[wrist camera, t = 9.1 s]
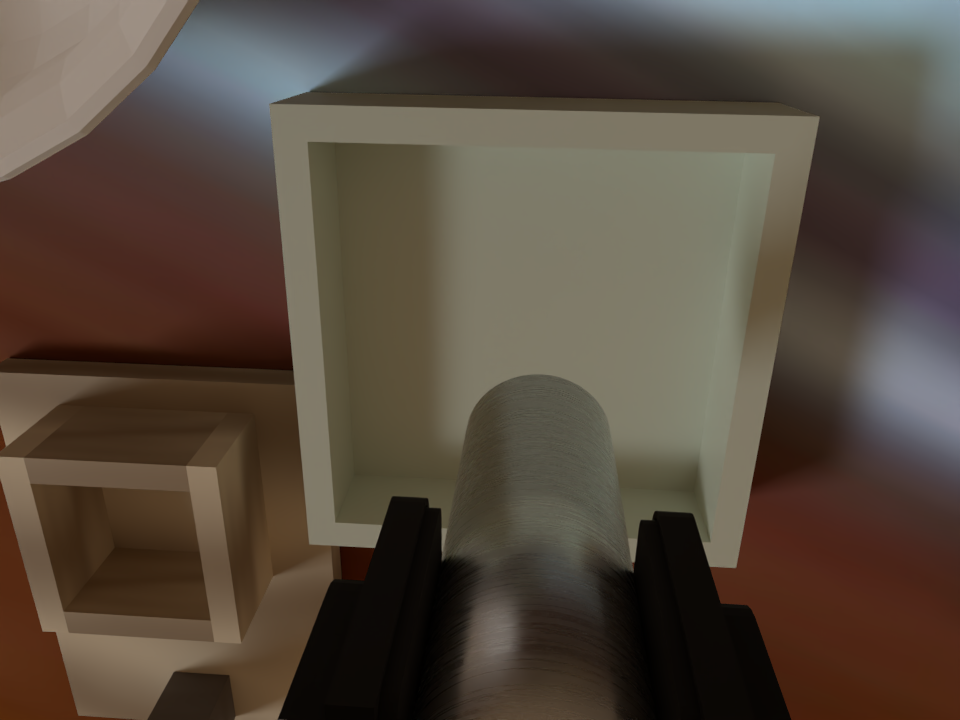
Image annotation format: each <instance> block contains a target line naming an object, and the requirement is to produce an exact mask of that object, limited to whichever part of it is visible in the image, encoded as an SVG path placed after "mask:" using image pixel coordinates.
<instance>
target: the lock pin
mask: <svg viewBox="0 0 960 720" xmlns="http://www.w3.org/2000/svg"><path fill="white" fill-rule="evenodd" d="M412 720H657V717H656V710H655V704H654V698H653V692H652V686H651V679H650V673H649V667H648V661H647V655H646V648H645V642H644V636H643V630H642V624H641V617H640V611H639V605H638V599H637V593H636V587H635V580H634V574H633V567H632V560H631V554H630V548H629V542H628V536H627V530H626V523H625V517H624V511H623V505H622V499H621V493H620V487H619V480H618V474H617V468H616V462H615V456H614V450H613V443H612V437H611V431H610V426H609V422H608V419H607V417H606V415H605V412H604V410H603V409H602V407H601V406H600V404H599V403H598V402H597V400H596V399H595V398H594V397H593V396H592V395H591V394H590V393H589V392H587V391H586V390H585V389H583V388H582V387H580V386H579V385H577V384H575V383H573V382H571V381H569V380H566V379H563V378H561V377H556V376H552V375H543V374H531V375H524V376H519V377H515V378H512V379H509V380H506V381H504V382H502V383H500V384H498V385H497V386H495V387H493V388H492V389H491V390H489V391H488V392H487V393H486V394H485V395H484V396H483V397H482V398H481V399H480V400H479V401H478V403H477V404H476V405H475V407H474V409H473V411H472V412H471V415H470V417H469V420H468V424H467V428H466V434H465V439H464V444H463V449H462V454H461V460H460V465H459V470H458V475H457V480H456V486H455V491H454V496H453V501H452V506H451V512H450V517H449V522H448V527H447V532H446V538H445V543H444V548H443V553H442V563H441V568H440V574H439V579H438V584H437V589H436V594H435V600H434V605H433V610H432V615H431V621H430V626H429V631H428V636H427V642H426V647H425V652H424V657H423V663H422V668H421V673H420V678H419V684H418V689H417V694H416V699H415V705H414V710H413V715H412Z"/></svg>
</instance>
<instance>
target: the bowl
mask: <svg viewBox="0 0 960 720" xmlns="http://www.w3.org/2000/svg"><path fill="white" fill-rule="evenodd" d="M199 1H200V0H0V182H1V181H5V180H8V179H12V178H13V177H15V176H17V175H19V174H20V173H22V172H24V171H26V170H27V169H29V168H31V167H32V166H34V165H36V164H38V163H39V162H41V161H43V160H45V159H46V158H48V157H50V156H52V155H53V154H55V153H57V152H58V151H60V150H62V149H64V148H65V147H67V146H69V145H71V144H72V143H74V142H76V141H78V140H79V139H81V138H83V137H84V136H86V135H88V134H89V133H90V132H91V131H92V130H93V129H94V128H95V127H96V126H97V125H98V124H99V123H100V122H101V121H102V120H103V119H104V118H105V117H106V116H107V115H109V114H110V113H111V112H112V111H113V110H114V109H115V108H116V107H117V106H118V105H119V104H120V103H121V102H122V101H123V100H124V99H125V98H126V97H127V96H128V95H129V94H130V93H131V92H132V91H133V90H134V89H135V88H136V87H137V86H139V85H140V84H141V83H142V82H143V81H144V80H145V79H146V78H147V77H148V76H149V75H150V74H151V73H152V72H153V71H154V70H155V69H156V67H157V66H158V64H159V63H160V61H161V60H162V58H163V57H164V55H165V53H166V52H167V50H168V49H169V47H170V46H171V44H172V43H173V41H174V39H175V38H176V36H177V35H178V33H179V32H180V30H181V29H182V27H183V25H184V24H185V22H186V21H187V19H188V18H189V16H190V15H191V13H192V11H193V10H194V8H195V7H196V5H197V4H198V2H199Z"/></svg>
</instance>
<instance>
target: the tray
mask: <svg viewBox="0 0 960 720" xmlns="http://www.w3.org/2000/svg"><path fill="white" fill-rule="evenodd" d="M269 105H270V116H271V127H272V138H273V150H274V161H275V172H276V183H277V194H278V205H279V216H280V227H281V238H282V249H283V260H284V271H285V282H286V293H287V304H288V315H289V326H290V337H291V348H292V359H293V370H294V381H295V392H296V403H297V414H298V425H299V436H300V448H301V459H302V470H303V481H304V492H305V503H306V514H307V525H308V536H309V544H312V545H330V546H348V547H366V548H375V546H376V543H377V540H378V537H379V534H380V531H381V528H382V525H383V522H384V519H385V515H386V512H387V509H388V506H389V503H390V500H391V498H392V497H393V496H403V497H420V498H428V501H429V507H430V508H441V515H442V552H443V548H444V543H445V538H446V532H447V527H448V522H449V517H450V512H451V506H452V501H453V496H454V491H455V486H456V480H457V475H458V470H459V465H460V460H461V454H462V449H463V444H464V439H465V434H466V428H467V424H468V420H469V417H470V415H471V412H472V411H473V409H474V407H475V405H476V404H477V403H478V401H479V400H480V399H481V398H482V397H483V396H484V395H485V394H486V393H487V392H488V391H489V390H491V389H492V388H493V387H495V386H497V385H498V384H500V383H502V382H504V381H506V380H509V379H512V378H515V377H519V376H524V375H531V374H543V375H552V376H556V377H561V378H563V379H566V380H569V381H571V382H573V383H575V384H577V385H579V386H580V387H582V388H583V389H585V390H586V391H587V392H589V393H590V394H591V395H592V396H593V397H594V398H595V399H596V400H597V402H598V403H599V404H600V406H601V407H602V409H603V410H604V412H605V415H606V417H607V419H608V422H609V426H610V431H611V437H612V443H613V450H614V456H615V462H616V468H617V474H618V480H619V487H620V493H621V499H622V505H623V511H624V517H625V523H626V530H627V536H628V542H629V548H630V554H631V560H632V562H635V555H636V547H637V538H638V530H639V524H640V521H641V520H652V518H653V514H654V512H655V511H668V512H685V513H692V514H693V515H694V518H695V521H696V524H697V527H698V530H699V534H700V537H701V540H702V544H703V547H704V550H705V554H706V557H707V560H708V564H709V566H710V567H728V568H736V565H737V560H738V554H739V549H740V544H741V538H742V533H743V528H744V522H745V517H746V511H747V506H748V501H749V495H750V490H751V484H752V479H753V474H754V468H755V463H756V458H757V452H758V447H759V441H760V436H761V431H762V425H763V420H764V414H765V409H766V404H767V398H768V393H769V388H770V382H771V377H772V371H773V366H774V361H775V355H776V350H777V344H778V339H779V334H780V328H781V323H782V317H783V312H784V307H785V301H786V296H787V291H788V285H789V280H790V274H791V269H792V264H793V258H794V253H795V247H796V242H797V237H798V231H799V226H800V221H801V215H802V210H803V204H804V199H805V194H806V188H807V183H808V177H809V172H810V167H811V161H812V156H813V150H814V145H815V140H816V134H817V129H818V124H819V118H820V117H819V116H816V115H813V114H811V113H808V112H805V111H802V110H799V109H796V108H793V107H790V106H787V105H784V104H781V103H778V102H734V101H689V100H644V99H599V98H555V97H510V96H465V95H420V94H375V93H331V92H305V93H302V94H299V95H296V96H293V97H290V98H286V99H283V100H280V101H277V102H274V103H271V104H269Z"/></svg>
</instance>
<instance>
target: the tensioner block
mask: <svg viewBox="0 0 960 720" xmlns="http://www.w3.org/2000/svg"><path fill="white" fill-rule="evenodd" d="M0 425H1V429H2V432H3V436H4V440H5V444H6V447H5V448H4V449H3V450H2V451H0V479H1V482H2V486H3V489H4V493H5V497H6V500H7V504H8V508H9V511H10V515H11V518H12V522H13V526H14V529H15V533H16V536H17V540H18V544H19V547H20V551H21V555H22V558H23V562H24V565H25V569H26V573H27V576H28V580H29V583H30V587H31V591H32V594H33V598H34V601H35V605H36V609H37V612H38V616H39V620H40V623H41V627H42V630H43V631H47V632H56V634H57V638H58V641H59V645H60V649H61V653H62V656H63V660H64V664H65V667H66V671H67V675H68V679H69V682H70V686H71V690H72V694H73V697H74V701H75V705H76V709H77V712H78V715H80V716H95V717H109V718H124V719H138V720H278V717H279V714H280V712H281V709H282V707H283V704H284V701H285V699H286V696H287V694H288V691H289V688H290V686H291V683H292V681H293V678H294V675H295V673H296V670H297V667H298V665H299V662H300V660H301V657H302V654H303V652H304V649H305V647H306V644H307V641H308V639H309V636H310V634H311V631H312V628H313V626H314V623H315V621H316V618H317V615H318V613H319V610H320V607H321V605H322V602H323V600H324V597H325V594H326V592H327V589H328V587H329V585H330V583H331V582H332V581H333V580H334V579H342V573H341V559H340V546H330V545H312V544H309V536H308V525H307V514H306V503H305V492H304V481H303V470H302V459H301V448H300V436H299V425H298V414H297V403H296V392H295V381H294V371H293V370H269V369H246V368H222V367H199V366H175V365H152V364H129V363H105V362H82V361H58V360H35V359H11V358H7V359H6V360H4V361H2V362H1V363H0Z"/></svg>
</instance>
